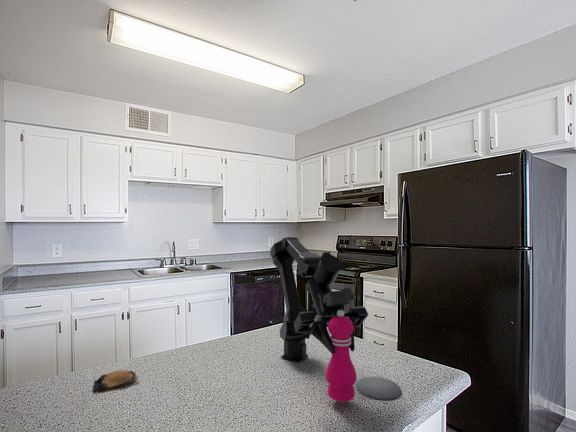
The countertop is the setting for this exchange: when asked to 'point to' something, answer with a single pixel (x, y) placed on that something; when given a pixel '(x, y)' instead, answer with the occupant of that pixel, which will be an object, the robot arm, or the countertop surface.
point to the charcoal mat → (378, 388)
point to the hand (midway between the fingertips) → (343, 351)
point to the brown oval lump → (115, 381)
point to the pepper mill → (340, 360)
